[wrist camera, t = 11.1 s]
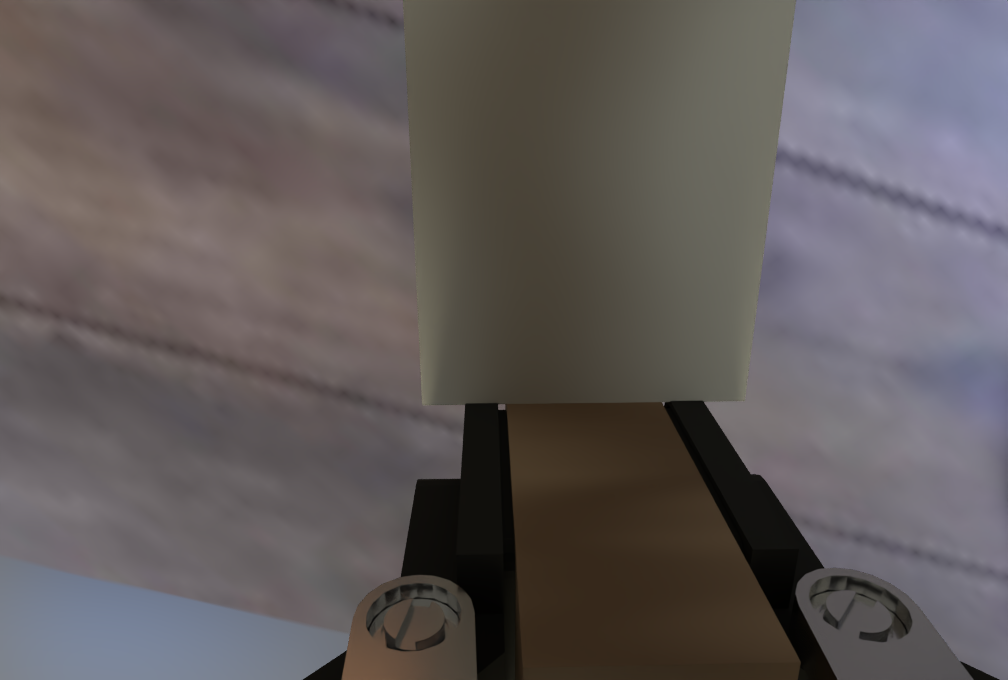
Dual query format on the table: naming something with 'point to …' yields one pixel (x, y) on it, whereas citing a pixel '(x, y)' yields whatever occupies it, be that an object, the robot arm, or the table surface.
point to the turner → (602, 303)
